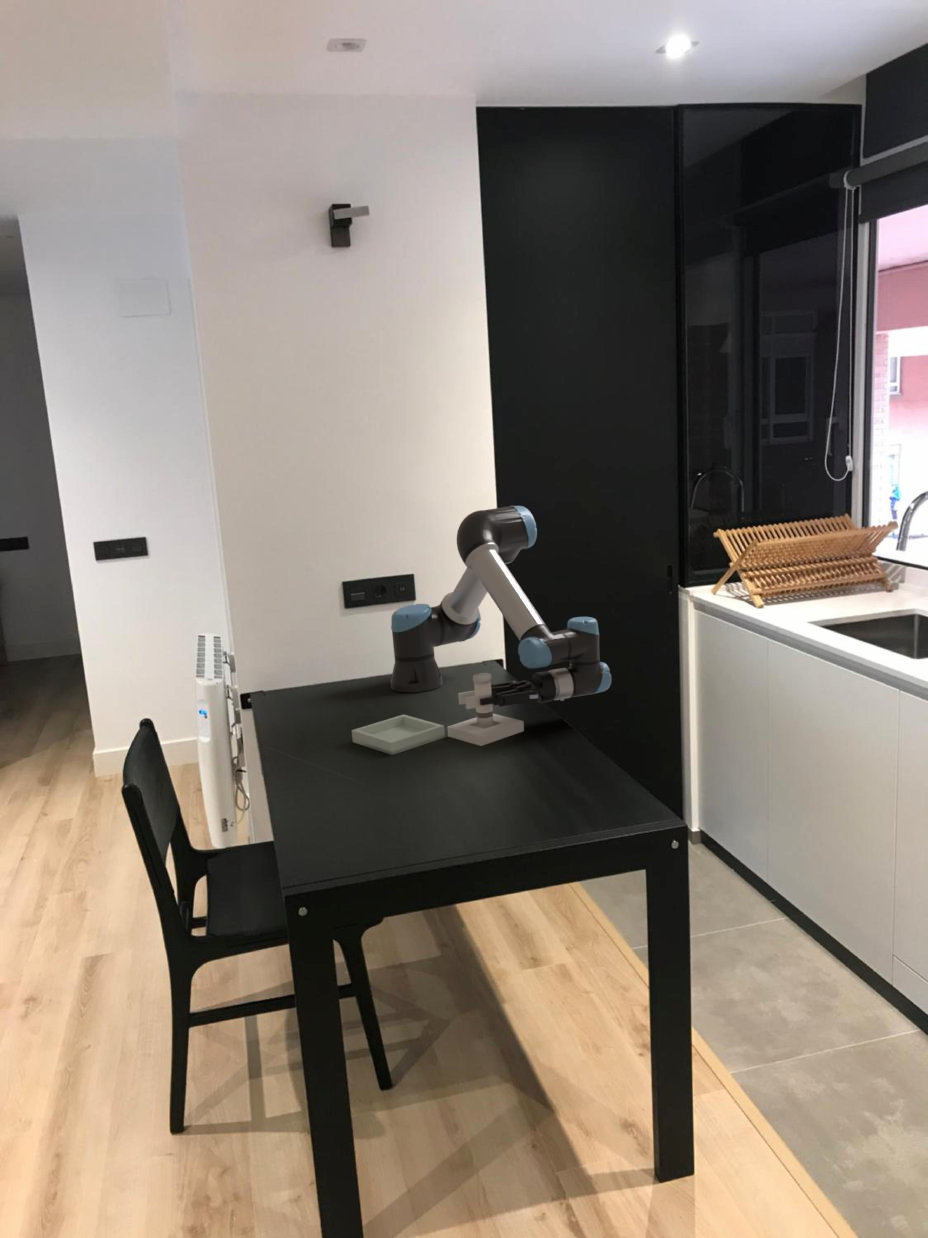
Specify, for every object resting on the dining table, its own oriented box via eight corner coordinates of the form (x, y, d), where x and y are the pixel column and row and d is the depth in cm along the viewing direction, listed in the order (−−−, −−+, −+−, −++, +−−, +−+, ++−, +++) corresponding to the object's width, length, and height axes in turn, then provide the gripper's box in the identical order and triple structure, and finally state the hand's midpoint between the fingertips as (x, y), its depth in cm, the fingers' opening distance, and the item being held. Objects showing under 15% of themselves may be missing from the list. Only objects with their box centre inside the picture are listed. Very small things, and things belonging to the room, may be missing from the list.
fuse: (486, 727, 247) (482, 671, 244) (498, 730, 243) (494, 674, 241) (473, 731, 244) (469, 675, 241) (485, 735, 240) (481, 678, 238)
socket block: (490, 722, 253) (489, 712, 252) (524, 731, 244) (523, 721, 243) (448, 736, 244) (447, 726, 243) (481, 746, 235) (480, 735, 234)
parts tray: (404, 725, 255) (403, 714, 254) (445, 737, 243) (444, 725, 242) (352, 742, 245) (351, 730, 244) (392, 755, 233) (391, 742, 232)
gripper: (567, 708, 241) (476, 725, 233) (537, 692, 257) (451, 707, 249) (565, 678, 239) (474, 694, 231) (535, 664, 255) (449, 678, 247)
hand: (462, 701), depth 240 cm, fingers closed on fuse, 4 cm apart
